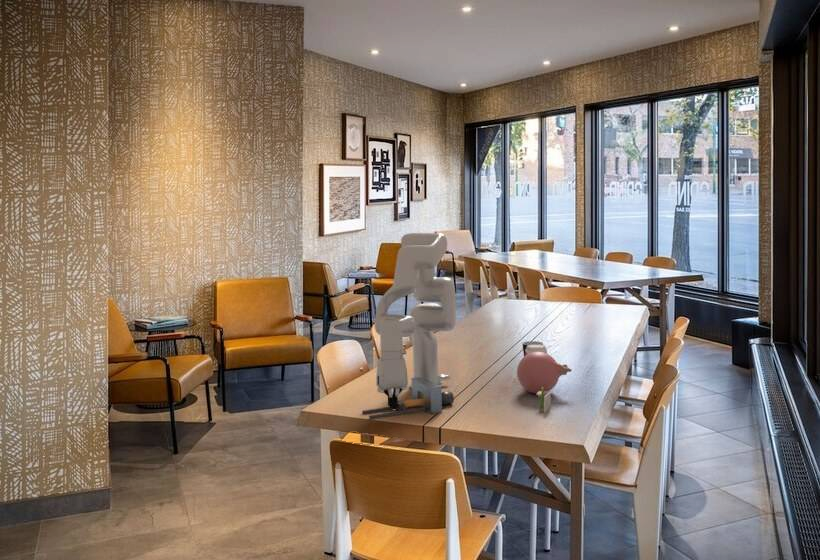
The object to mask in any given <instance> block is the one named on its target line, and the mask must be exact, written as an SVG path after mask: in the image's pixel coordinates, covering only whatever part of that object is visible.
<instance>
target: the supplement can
mask: <svg viewBox="0 0 820 560" xmlns="http://www.w3.org/2000/svg"><path fill="white" fill-rule="evenodd" d="M532 352H544V353H546V354H548V349H547V348H546V345H545V344H543V345H540V344H531V345H527V348H526V349H525V356H526V355H527V354H529V353H532Z"/></svg>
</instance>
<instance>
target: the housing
mask: <svg viewBox="0 0 820 560" xmlns="http://www.w3.org/2000/svg"><path fill="white" fill-rule="evenodd" d="M410 381H411V382H412V388H411V400H415V399H421V398H425V405H422V406H421V407H423V406H424V408H425V411H424V412H427V413H429V414H430V415H434V414H440V413H442V412H443V405H442V387H441V386H439V385H437V384H435V383H433V382H431V381H429V380H427V379H425V378H423V377H416V378H414V377H411V380H410Z"/></svg>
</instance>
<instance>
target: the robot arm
mask: <svg viewBox="0 0 820 560" xmlns="http://www.w3.org/2000/svg"><path fill="white" fill-rule="evenodd" d="M447 239H448V238H447V237H446V236H445V234H443V233H441V232H412V233H411V232H410V233H406V234H403V235H402V237H401V239H400V244H401V245H400V246H401V247H400V248H399V249H398V253H397V257H396V263H395V270H394V276H393V284H392V286H391V287H390V288H389V289H388V290H387V291H386V292H385V293H384V294H383V295H382V296H381V298H380V300H379V301H378V303H377V307H376V311H375V312H376V313H375V317H374V330H375V333H377V335H379V337H380V339H379V341H380V345H379V346H380V358H378V360H377V365H376V375H375V384H376V387H377V390H376V391H377V393H379V394H385V395H386V396H387V407H390V408H391V409H394V408H395V409H396V408H397V405H398V402H399V401H398V397H399V396H400V394H401V393H402V392H403V391H405V390H407V389H408V383H409V381H408V369H407V365H406V359H405V357H404V355H407V349H405V350H404V348H403V338H409V337H411V336H412V363H413V364H412V365H413V378H416V377H423V378H425V379H427V380H429V381H431V382H433V383H435V384H437V385H439V386H441V388H442V387H443V383H442V382H443V381H449V380H451V376H450V374H446V375H445V374H439V348H438V346H439V344H438V342H439V341H438V339H437V336H436V335H435V334H434V332H449V331H453V330H454V328H455V327H456V320H457V319H456V317H457V316H456V315H457V314H456V287H455V283H454V281H453V280H452V279H451V278H449V277H442V276H441V277H439V276H438V277H437V276H436V268H437V266H438V265H439V263H440V262H441V260H442V258H443V257H444V256H445V254H446V252H447V250H448V240H447ZM411 294H413V297H414V299H415V301H417V302H421V303H440V304H441V305H431V304H430V305H428V304H427V305H425V304H424V305H421V304H420V305H416V306H414V307H412V309H411V310H410V312H409V315H405V314H388V311H389V309H390V306H391V305H393V303H395V302H396V301H398V300H400V299H401V298H403V297H407V296H409V295H411ZM433 331H434V332H433ZM409 388H410V389H412V381H411V382H410V383H409Z"/></svg>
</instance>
